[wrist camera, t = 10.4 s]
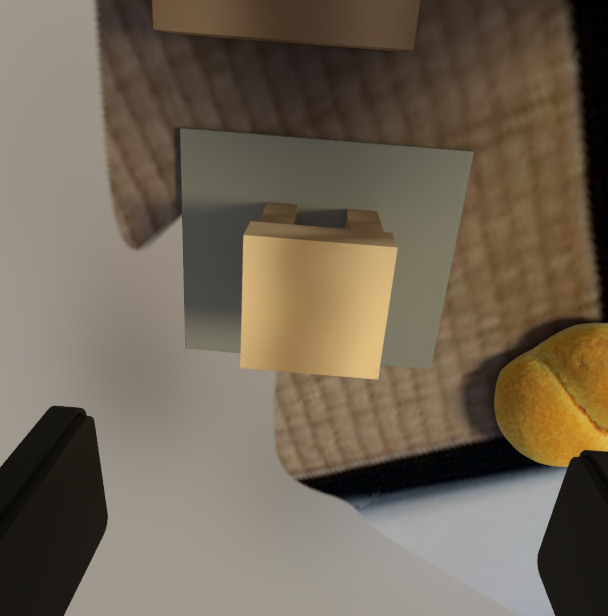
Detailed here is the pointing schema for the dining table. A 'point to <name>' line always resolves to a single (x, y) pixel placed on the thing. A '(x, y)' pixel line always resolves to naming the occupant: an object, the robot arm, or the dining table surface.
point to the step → (295, 21)
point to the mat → (318, 223)
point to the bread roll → (557, 396)
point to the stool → (316, 294)
